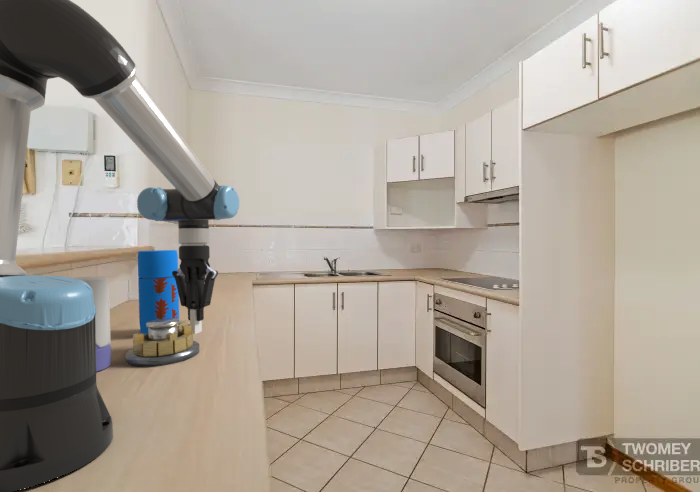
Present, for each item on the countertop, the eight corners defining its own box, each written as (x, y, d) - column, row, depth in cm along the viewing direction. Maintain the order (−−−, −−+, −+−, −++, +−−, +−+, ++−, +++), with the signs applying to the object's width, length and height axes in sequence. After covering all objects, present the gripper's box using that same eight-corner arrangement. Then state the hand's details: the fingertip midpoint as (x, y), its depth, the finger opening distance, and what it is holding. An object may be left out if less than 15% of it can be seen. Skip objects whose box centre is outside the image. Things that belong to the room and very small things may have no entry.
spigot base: (160, 370, 78) (159, 332, 78) (109, 362, 84) (108, 326, 84) (214, 348, 93) (214, 316, 93) (169, 342, 99) (168, 312, 99)
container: (98, 358, 86) (95, 275, 86) (120, 365, 81) (117, 277, 81) (46, 372, 78) (43, 280, 77) (67, 381, 73) (64, 282, 72)
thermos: (142, 330, 113) (139, 250, 113) (179, 326, 118) (177, 249, 117) (138, 338, 103) (135, 251, 103) (179, 334, 108) (177, 250, 107)
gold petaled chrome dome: (178, 355, 82) (177, 336, 82) (121, 356, 82) (120, 337, 82) (209, 333, 101) (209, 317, 101) (163, 334, 101) (163, 318, 101)
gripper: (224, 244, 98) (225, 330, 99) (183, 244, 102) (185, 327, 102) (205, 244, 91) (207, 337, 91) (163, 245, 94) (165, 334, 95)
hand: (196, 332), depth 97 cm, fingers closed
